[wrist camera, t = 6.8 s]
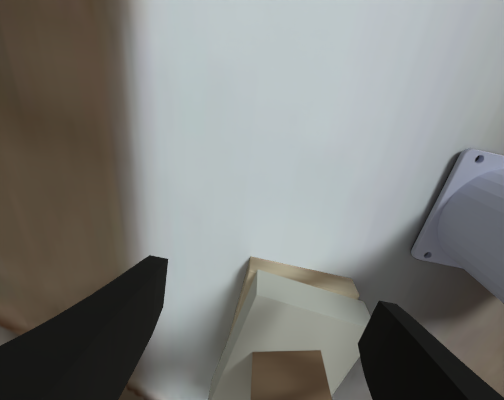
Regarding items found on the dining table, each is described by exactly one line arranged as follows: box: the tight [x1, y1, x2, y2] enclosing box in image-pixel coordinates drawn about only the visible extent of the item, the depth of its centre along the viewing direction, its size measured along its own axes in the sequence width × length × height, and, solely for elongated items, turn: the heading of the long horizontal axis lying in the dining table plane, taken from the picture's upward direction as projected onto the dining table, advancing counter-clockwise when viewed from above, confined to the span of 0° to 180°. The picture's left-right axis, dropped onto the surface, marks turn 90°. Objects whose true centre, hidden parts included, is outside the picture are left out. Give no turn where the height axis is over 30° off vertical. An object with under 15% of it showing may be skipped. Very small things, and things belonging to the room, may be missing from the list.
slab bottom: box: [228, 257, 360, 339], centre depth 22 cm, size 8×12×2 cm, turn 167°
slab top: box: [208, 270, 371, 400], centre depth 20 cm, size 8×12×2 cm, turn 161°
